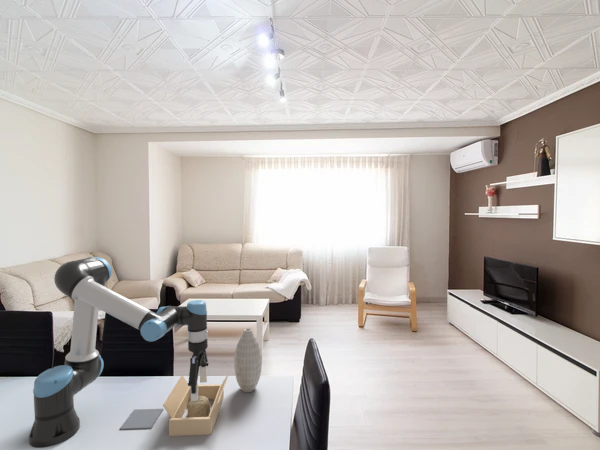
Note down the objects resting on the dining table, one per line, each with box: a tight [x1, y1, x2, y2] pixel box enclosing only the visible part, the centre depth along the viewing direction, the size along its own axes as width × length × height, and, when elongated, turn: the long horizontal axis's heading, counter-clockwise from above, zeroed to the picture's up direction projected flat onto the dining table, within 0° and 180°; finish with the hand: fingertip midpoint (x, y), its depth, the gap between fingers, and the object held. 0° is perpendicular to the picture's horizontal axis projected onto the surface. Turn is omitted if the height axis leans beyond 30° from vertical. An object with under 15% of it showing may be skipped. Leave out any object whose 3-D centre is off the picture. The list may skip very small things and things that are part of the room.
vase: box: [233, 328, 263, 393], centre depth 150 cm, size 13×13×28 cm
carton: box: [162, 373, 230, 437], centre depth 131 cm, size 20×24×11 cm
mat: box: [119, 408, 164, 431], centre depth 129 cm, size 12×12×1 cm
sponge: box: [186, 396, 211, 418], centre depth 131 cm, size 9×10×10 cm
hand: (199, 390), depth 131 cm, fingers open, 13 cm apart
